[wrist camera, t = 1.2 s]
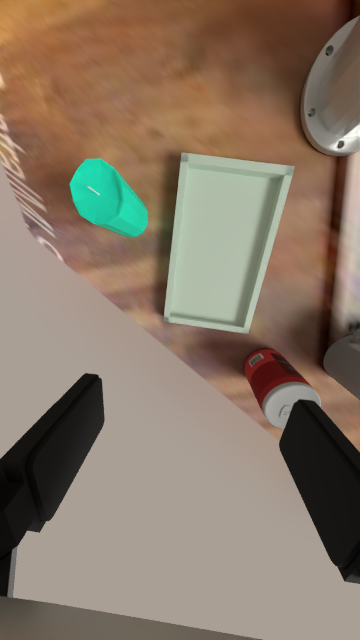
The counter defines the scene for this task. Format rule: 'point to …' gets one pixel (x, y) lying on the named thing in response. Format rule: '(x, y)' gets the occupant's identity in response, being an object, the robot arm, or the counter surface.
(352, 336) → the coffee mug
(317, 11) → the counter surface
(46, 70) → the counter surface
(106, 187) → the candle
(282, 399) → the canned food
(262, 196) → the tray
